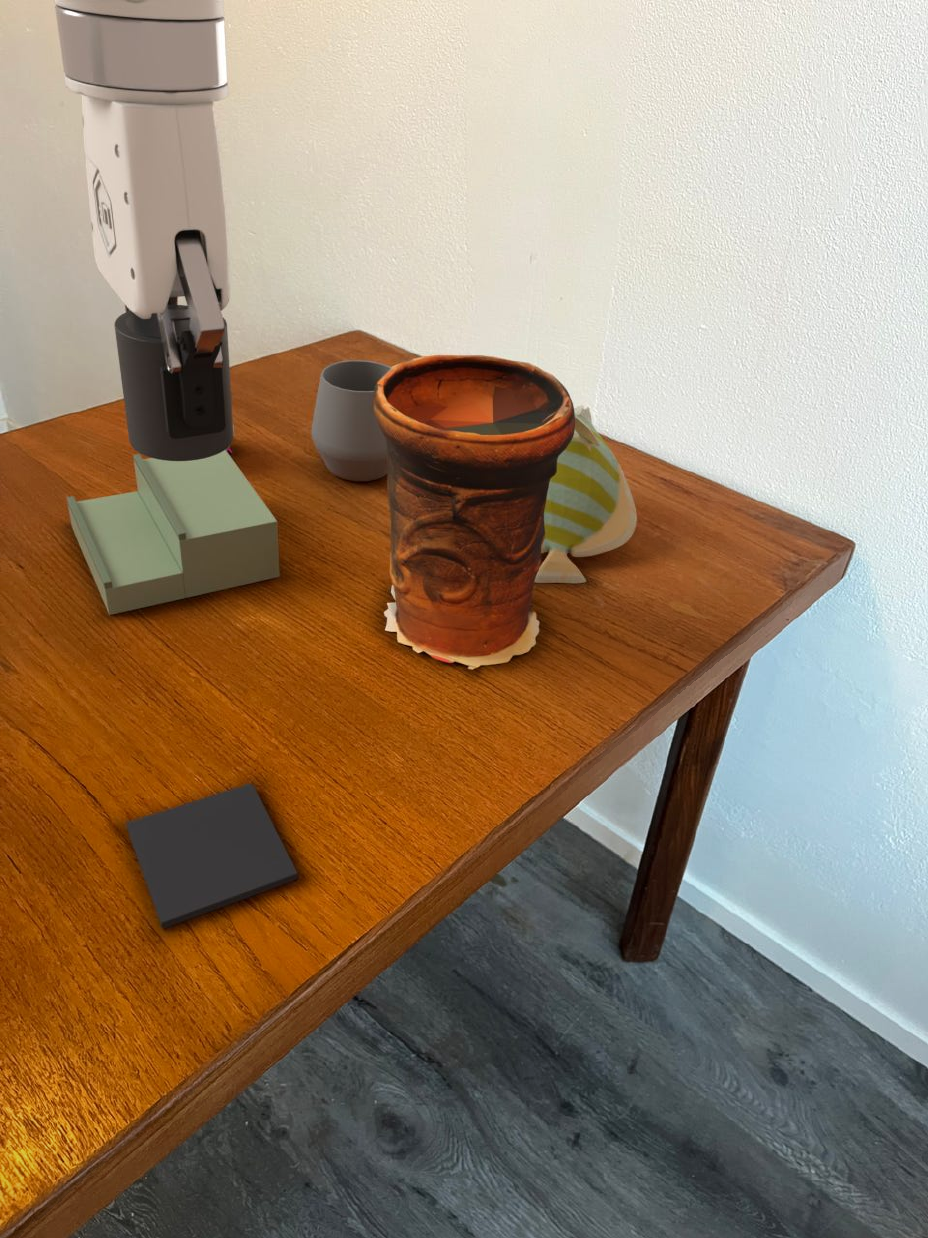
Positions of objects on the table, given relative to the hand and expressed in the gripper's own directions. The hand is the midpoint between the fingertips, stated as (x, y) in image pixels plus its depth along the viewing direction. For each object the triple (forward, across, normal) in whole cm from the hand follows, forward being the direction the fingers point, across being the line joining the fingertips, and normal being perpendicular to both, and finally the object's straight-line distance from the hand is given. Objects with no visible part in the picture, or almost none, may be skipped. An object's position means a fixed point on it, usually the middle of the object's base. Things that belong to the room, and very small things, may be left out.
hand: (178, 406), depth 57 cm
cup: (+22, -27, +24) cm, 42 cm away
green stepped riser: (+22, -19, +3) cm, 29 cm away
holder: (+2, 0, 0) cm, 2 cm away
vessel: (+22, -1, +21) cm, 31 cm away
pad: (+22, +14, -4) cm, 27 cm away
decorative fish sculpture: (+22, -9, +36) cm, 43 cm away
